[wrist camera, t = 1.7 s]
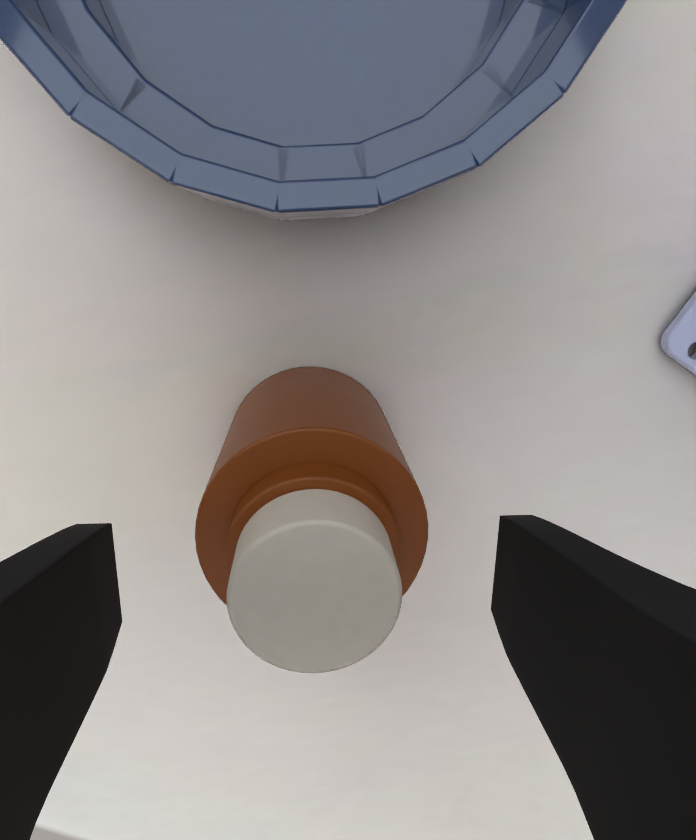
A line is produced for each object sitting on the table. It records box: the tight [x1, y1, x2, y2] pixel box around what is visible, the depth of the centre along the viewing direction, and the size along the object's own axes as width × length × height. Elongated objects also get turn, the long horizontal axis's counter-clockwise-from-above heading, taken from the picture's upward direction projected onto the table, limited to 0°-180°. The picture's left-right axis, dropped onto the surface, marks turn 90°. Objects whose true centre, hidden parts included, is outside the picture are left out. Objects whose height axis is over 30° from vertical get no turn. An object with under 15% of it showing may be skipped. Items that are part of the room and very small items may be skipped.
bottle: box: [195, 367, 428, 673], centre depth 14 cm, size 5×5×8 cm
